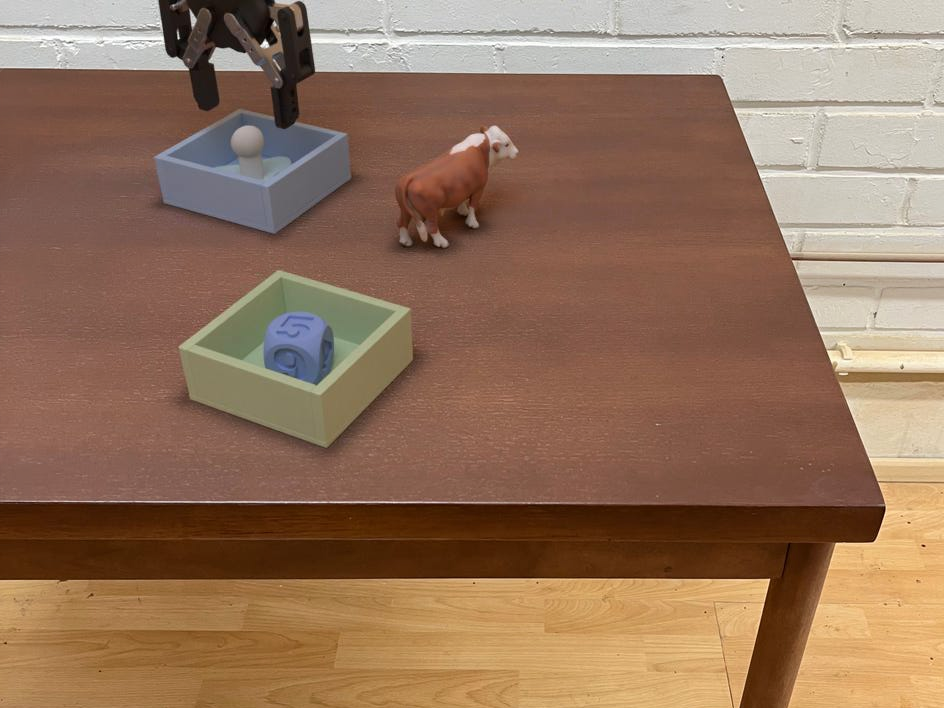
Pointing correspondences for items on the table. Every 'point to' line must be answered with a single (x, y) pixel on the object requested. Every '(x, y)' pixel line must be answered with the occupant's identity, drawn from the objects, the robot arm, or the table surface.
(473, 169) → the bull figurine
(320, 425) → the sage bin
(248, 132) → the pacifier
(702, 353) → the table surface
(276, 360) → the decorative dice
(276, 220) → the bluegrey bin
